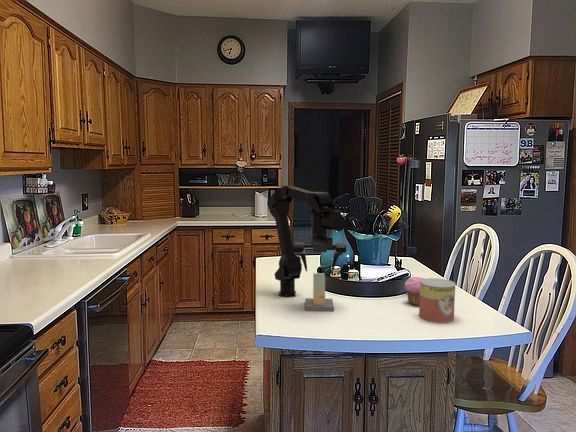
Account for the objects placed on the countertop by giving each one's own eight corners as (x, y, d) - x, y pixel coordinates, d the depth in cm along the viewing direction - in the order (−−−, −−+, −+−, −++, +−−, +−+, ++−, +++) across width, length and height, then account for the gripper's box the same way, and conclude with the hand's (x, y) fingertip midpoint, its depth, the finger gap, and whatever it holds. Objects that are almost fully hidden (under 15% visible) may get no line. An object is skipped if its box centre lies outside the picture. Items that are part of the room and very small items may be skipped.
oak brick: (313, 300, 170) (313, 286, 170) (324, 300, 170) (324, 286, 169) (313, 305, 164) (313, 291, 164) (324, 305, 164) (324, 291, 163)
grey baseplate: (305, 302, 172) (305, 298, 172) (332, 302, 172) (332, 298, 172) (305, 310, 163) (305, 306, 162) (333, 311, 162) (333, 307, 162)
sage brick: (313, 286, 170) (313, 273, 169) (324, 286, 169) (324, 273, 169) (313, 291, 164) (313, 277, 163) (324, 291, 164) (325, 277, 163)
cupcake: (399, 301, 173) (400, 275, 172) (418, 298, 177) (419, 273, 175) (415, 308, 165) (415, 281, 164) (434, 305, 168) (435, 278, 167)
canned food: (434, 325, 148) (435, 288, 147) (411, 314, 159) (412, 280, 157) (461, 320, 153) (463, 284, 152) (437, 310, 163) (439, 276, 162)
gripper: (292, 231, 156) (292, 276, 158) (348, 231, 156) (347, 277, 157) (293, 226, 167) (293, 269, 169) (345, 226, 167) (344, 269, 168)
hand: (319, 271), depth 166 cm, fingers open, 9 cm apart
